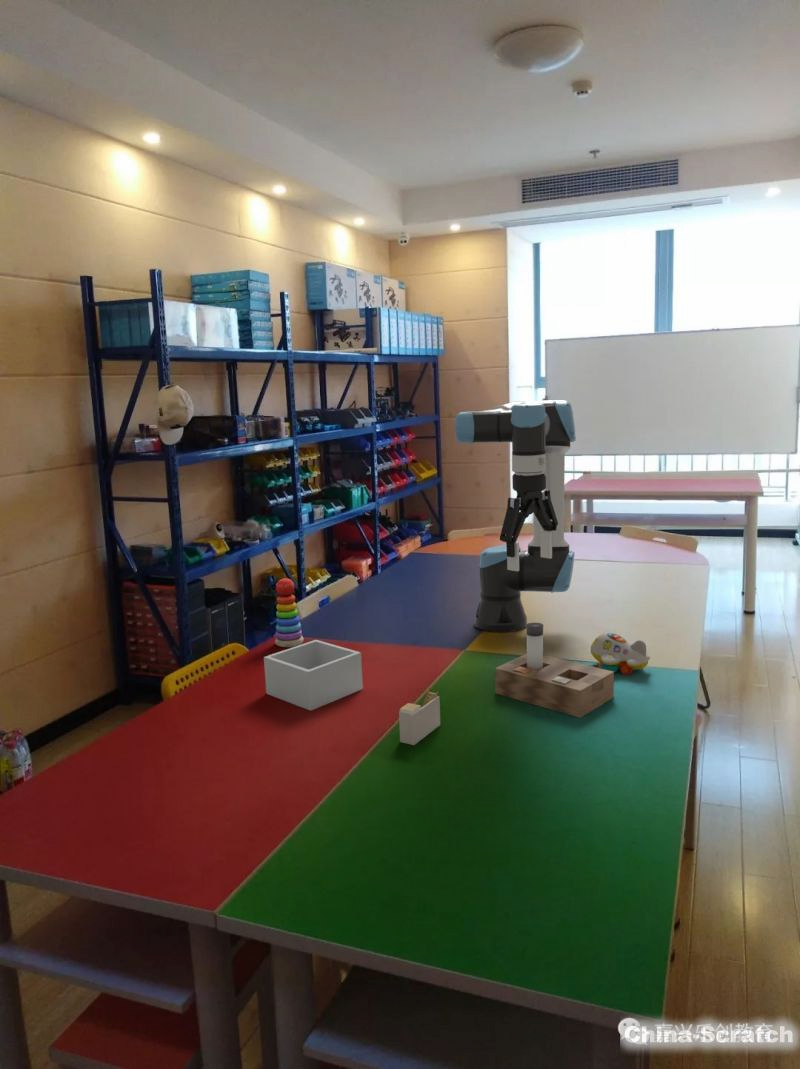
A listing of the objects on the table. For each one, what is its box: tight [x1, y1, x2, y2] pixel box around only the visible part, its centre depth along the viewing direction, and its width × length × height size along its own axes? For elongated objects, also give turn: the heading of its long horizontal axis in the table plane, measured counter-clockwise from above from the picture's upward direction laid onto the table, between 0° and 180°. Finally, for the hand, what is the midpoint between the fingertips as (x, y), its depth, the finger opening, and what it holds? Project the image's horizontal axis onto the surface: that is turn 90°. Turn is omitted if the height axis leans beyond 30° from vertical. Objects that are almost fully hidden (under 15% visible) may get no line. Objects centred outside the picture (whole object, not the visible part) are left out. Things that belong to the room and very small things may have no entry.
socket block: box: [494, 653, 615, 719], centre depth 177 cm, size 22×14×6 cm, turn 47°
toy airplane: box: [590, 632, 651, 676], centre depth 192 cm, size 13×9×15 cm
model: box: [398, 689, 441, 746], centre depth 160 cm, size 3×11×8 cm, turn 148°
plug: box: [525, 622, 544, 671], centre depth 179 cm, size 4×4×14 cm
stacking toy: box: [274, 577, 305, 648], centre depth 219 cm, size 8×8×19 cm
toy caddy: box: [263, 639, 364, 711], centre depth 184 cm, size 16×16×9 cm
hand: (530, 563), depth 182 cm, fingers open, 13 cm apart
